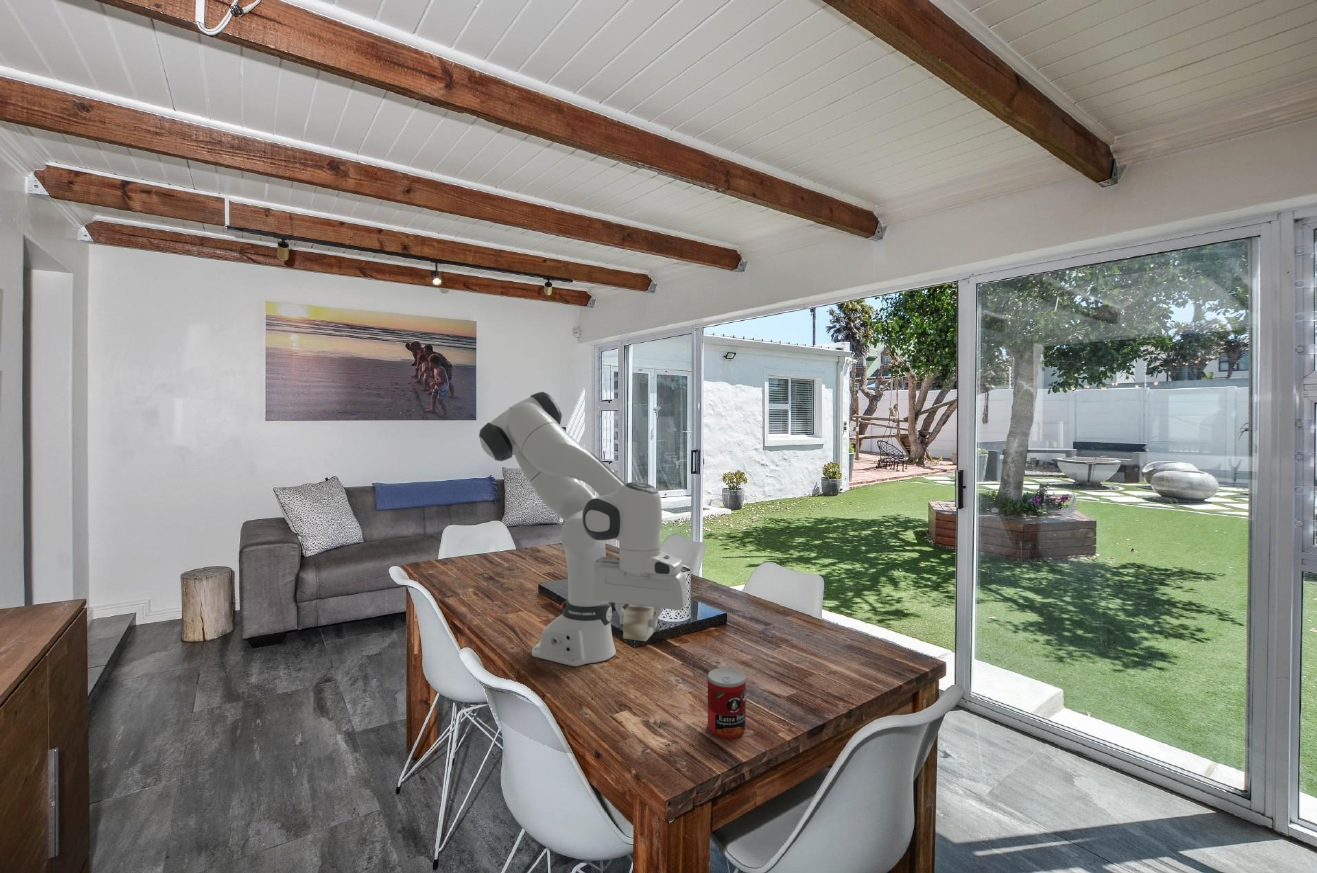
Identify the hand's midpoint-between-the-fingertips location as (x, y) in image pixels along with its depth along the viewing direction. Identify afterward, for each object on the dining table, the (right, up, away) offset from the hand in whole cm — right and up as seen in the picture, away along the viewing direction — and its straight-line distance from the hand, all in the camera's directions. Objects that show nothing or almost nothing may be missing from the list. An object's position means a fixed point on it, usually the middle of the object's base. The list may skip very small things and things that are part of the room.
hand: (638, 625), depth 126 cm
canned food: (+18, -19, -6) cm, 27 cm away
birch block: (0, -2, 0) cm, 2 cm away
